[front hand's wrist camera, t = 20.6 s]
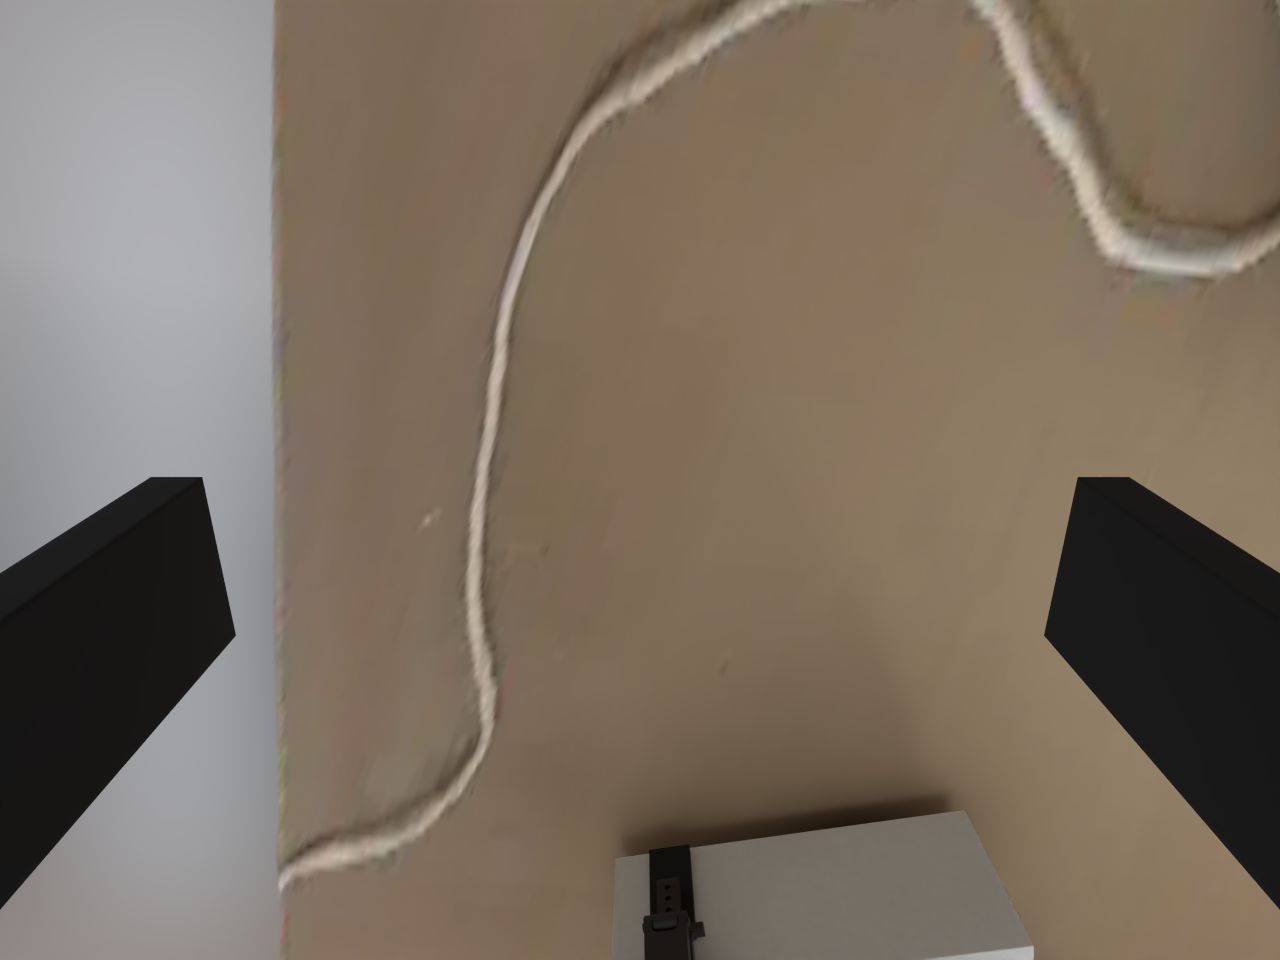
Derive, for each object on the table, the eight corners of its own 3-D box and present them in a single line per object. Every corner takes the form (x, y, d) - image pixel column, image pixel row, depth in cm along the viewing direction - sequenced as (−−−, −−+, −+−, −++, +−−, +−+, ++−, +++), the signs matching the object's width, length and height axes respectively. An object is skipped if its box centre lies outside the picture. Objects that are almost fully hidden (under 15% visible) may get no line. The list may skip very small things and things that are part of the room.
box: (964, 809, 53) (1034, 945, 44) (968, 881, 56) (1034, 1025, 46) (614, 857, 55) (609, 999, 45) (632, 925, 57) (630, 1074, 48)
